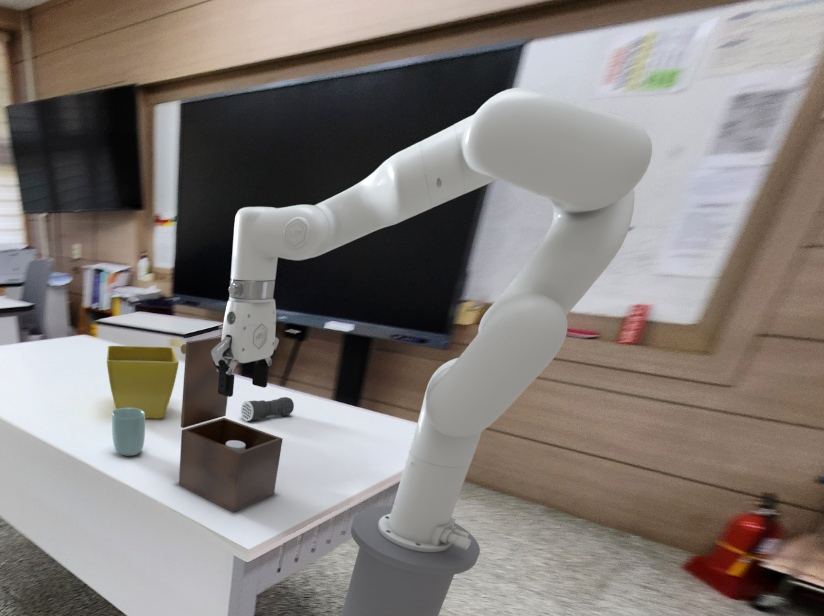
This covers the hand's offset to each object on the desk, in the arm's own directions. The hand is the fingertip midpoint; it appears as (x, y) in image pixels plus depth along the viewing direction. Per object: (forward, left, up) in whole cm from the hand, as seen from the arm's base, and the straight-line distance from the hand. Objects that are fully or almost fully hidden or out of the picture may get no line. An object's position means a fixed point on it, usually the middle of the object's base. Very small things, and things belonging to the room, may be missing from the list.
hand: (242, 390), depth 97 cm
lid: (+9, 0, 0) cm, 9 cm away
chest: (+1, 0, -21) cm, 21 cm away
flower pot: (+51, -18, -22) cm, 59 cm away
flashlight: (+26, -44, -22) cm, 55 cm away
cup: (+29, +4, -22) cm, 37 cm away
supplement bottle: (0, 0, -21) cm, 21 cm away
